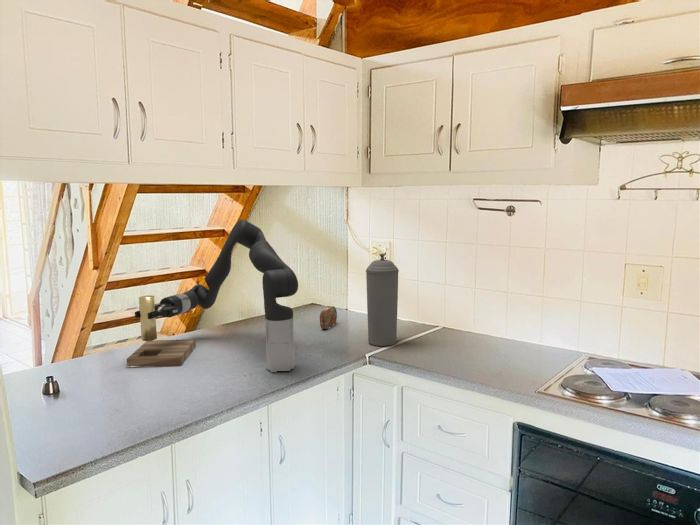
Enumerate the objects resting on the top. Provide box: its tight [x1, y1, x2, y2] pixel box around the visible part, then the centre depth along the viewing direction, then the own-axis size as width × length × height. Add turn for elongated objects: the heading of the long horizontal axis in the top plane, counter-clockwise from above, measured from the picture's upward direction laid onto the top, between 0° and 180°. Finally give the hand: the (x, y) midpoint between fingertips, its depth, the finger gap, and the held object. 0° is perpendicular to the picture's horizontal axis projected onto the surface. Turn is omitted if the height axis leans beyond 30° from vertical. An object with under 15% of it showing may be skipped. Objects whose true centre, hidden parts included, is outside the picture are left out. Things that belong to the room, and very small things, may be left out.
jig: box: [126, 338, 197, 367], centre depth 183 cm, size 22×18×3 cm
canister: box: [365, 253, 400, 347], centre depth 196 cm, size 13×13×35 cm
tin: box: [319, 306, 338, 330], centre depth 222 cm, size 15×3×8 cm, turn 161°
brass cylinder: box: [138, 294, 158, 342], centre depth 176 cm, size 5×5×15 cm
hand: (142, 315), depth 174 cm, fingers closed on brass cylinder, 5 cm apart
